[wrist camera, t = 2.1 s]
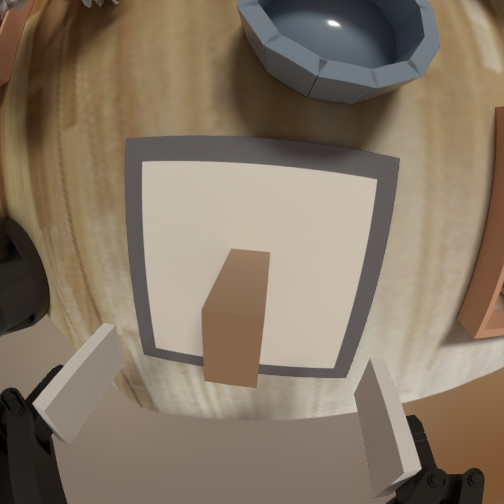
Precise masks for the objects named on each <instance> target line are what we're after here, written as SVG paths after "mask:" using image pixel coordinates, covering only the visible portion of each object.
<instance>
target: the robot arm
mask: <svg viewBox="0 0 504 504" xmlns="http://www.w3.org/2000/svg"><path fill="white" fill-rule="evenodd" d="M48 306H49V291H48V284H47V280H46V276H45V272H44V269H43V266H42V263H41V260H40V258H39V256H38V253H37V251H36V249H35V247H34V245H33V243H32V241H31V240H30V238H29V236H28V235H27V233H26V232H25V231H24V230H23V228H22V227H21V226H20V225H19V224H18V223H17V222H15V221H14V220H12V219H10V218H1V219H0V337H1V336H2V335H5V334H9V333H12V332H15V331H18V330H21V329H24V328H28V327H30V326H33V325H35V324H36V323H37V322H38V321H39V320H40V319H42V318H43V317H44V316H45V315H46V313H47V310H48ZM124 364H125V362H124V358H123V354H122V351H121V347H120V343H119V339H118V335H117V330H116V326H115V325H112V324H108V323H103V324H102V325H101V326H100V328H99V329H98V330H97V331H96V332H95V333H94V334H93V335H92V336H91V337H90V338H89V339H88V340H87V341H86V342H85V344H84V345H83V346H82V347H81V348H80V349H79V350H78V351H77V352H76V353H75V355H74V356H73V357H72V358H71V359H70V360H69V361H68V362H67V363H66V365H65V366H63V365H58V366H57V367H55V368H53V369H52V370H51V371H50V372H49V373H48V374H47V376H46V377H45V378H44V379H43V380H42V382H40V383H39V385H38V386H37V387H36V388H35V389H34V390H33V391H32V393H31V394H30V395H29V396H28V397H27V399H26V400H24V398H23V397H22V395H21V393H20V392H19V391H18V390H17V389H16V388H7V389H5V390H4V391H2V393H1V394H0V504H67V501H66V497H65V494H64V490H63V487H62V483H61V479H60V475H59V471H58V466H57V461H56V456H55V451H54V445H53V440H52V437H51V435H52V434H53V433H54V434H55V436H56V437H57V438H58V439H59V440H60V441H63V442H64V443H66V444H67V445H69V446H70V445H71V444H72V442H73V441H74V439H75V437H76V436H77V434H78V433H79V431H80V429H81V428H82V426H83V425H84V423H85V422H86V420H87V418H88V417H89V415H90V414H91V412H92V411H93V409H94V408H95V406H96V405H97V403H98V402H99V400H100V399H101V397H102V396H103V394H104V393H105V391H106V390H107V388H108V387H109V385H110V384H111V382H112V381H113V380H114V378H115V377H116V375H117V374H118V372H119V371H120V369H121V368H122V366H123V365H124ZM354 396H355V400H356V405H357V409H358V414H359V419H360V424H361V429H362V434H363V439H364V445H365V450H366V456H367V462H368V468H369V475H370V480H371V488H372V496H373V498H378V497H383V496H388V495H390V494H391V493H393V492H394V491H396V496H395V497H394V498H392V499H391V500H389V501H388V502H387V503H386V504H482V498H483V490H484V481H485V480H484V474H483V472H482V471H481V470H480V469H477V468H471V469H469V470H468V471H466V472H465V473H464V474H446V473H445V471H443V470H441V469H438V468H437V466H436V464H435V461H434V458H433V455H432V452H431V449H430V446H429V443H428V440H427V437H426V434H425V433H424V429H423V426H422V423H421V422H420V420H419V419H418V418H417V417H416V416H415V415H410V416H405V414H404V411H403V408H402V406H401V402H400V400H399V397H398V394H397V391H396V389H395V386H394V383H393V381H392V378H391V376H390V373H389V371H388V368H387V366H386V363H385V361H384V358H370V359H369V362H368V364H367V366H366V369H365V371H364V373H363V376H362V378H361V380H360V383H359V385H358V387H357V389H356V391H355V393H354Z"/></svg>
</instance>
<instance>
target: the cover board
mask: <svg viewBox="0 0 504 504" xmlns="http://www.w3.org/2000/svg"><path fill="white" fill-rule="evenodd" d="M376 186H377V179H373V178H367V177H361V176H355V175H349V174H342V173H335V172H328V171H320V170H312V169H304V168H295V167H285V166H274V165H262V164H248V163H231V162H206V161H145V162H142V216H143V238H144V254H145V267H146V278H147V287H148V296H149V304H150V312H151V319H152V326H153V333H154V339H155V345H156V348H159V349H164V350H169V351H174V352H179V353H185V354H190V355H196V356H202V357H203V363H204V380H205V381H208V382H215V383H221V384H228V385H236V386H244V387H253V388H256V386H257V378H258V370H259V364H264V365H276V366H289V367H307V368H334V366H335V363H336V360H337V357H338V354H339V351H340V348H341V345H342V341H343V338H344V335H345V332H346V328H347V325H348V321H349V318H350V314H351V311H352V307H353V303H354V299H355V296H356V292H357V288H358V283H359V279H360V275H361V271H362V266H363V262H364V257H365V252H366V247H367V242H368V237H369V231H370V226H371V220H372V214H373V207H374V201H375V194H376Z"/></svg>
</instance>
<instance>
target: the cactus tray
mask: <svg viewBox="0 0 504 504" xmlns="http://www.w3.org/2000/svg"><path fill="white" fill-rule="evenodd" d="M503 282H504V107H496V158H495V171H494V181H493V189H492V196H491V203H490V209H489V214H488V219H487V224H486V229H485V234H484V238H483V242H482V246H481V250H480V254H479V257H478V261H477V264H476V268H475V271H474V274H473V277H472V280H471V283H470V286H469V289H468V292H467V295H466V297H465V300H464V303H463V305H462V308H461V310H460V313H459V315H458V318H457V319H458V320H459V321H460V323H461V324H462V325H463V326H464V327H465V328H466V330H467V331H468V332H469V333H470V334H471V336H472V337H473V338H474V339H478V338H487V337H494V336H501V335H504V310H493V308H494V306H495V304H496V301H497V298H498V296H499V293H500V290H501V288H502V285H503Z"/></svg>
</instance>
